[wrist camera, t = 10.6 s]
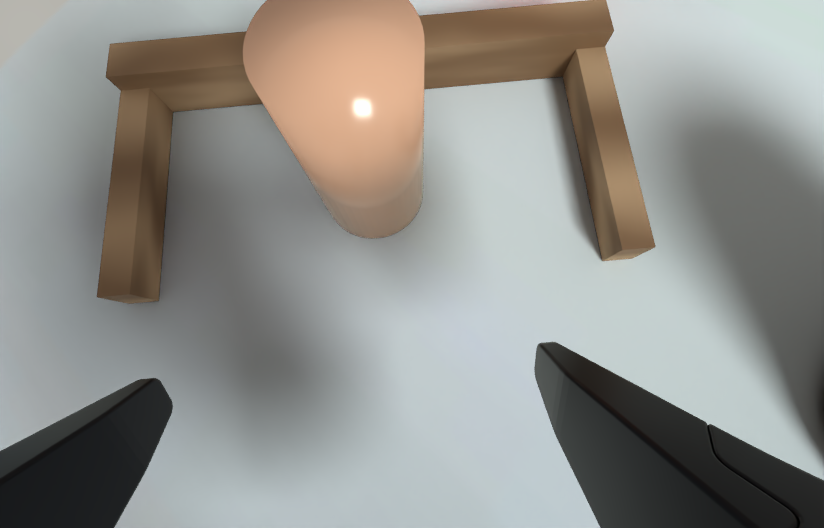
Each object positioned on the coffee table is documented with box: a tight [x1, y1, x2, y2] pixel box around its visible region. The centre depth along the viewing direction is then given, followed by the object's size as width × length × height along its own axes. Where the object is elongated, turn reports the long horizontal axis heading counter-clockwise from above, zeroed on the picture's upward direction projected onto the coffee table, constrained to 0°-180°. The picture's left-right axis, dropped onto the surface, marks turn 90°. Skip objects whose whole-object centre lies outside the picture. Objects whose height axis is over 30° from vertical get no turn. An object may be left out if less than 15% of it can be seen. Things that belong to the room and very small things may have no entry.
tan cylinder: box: [243, 0, 425, 238], centre depth 16 cm, size 5×5×10 cm
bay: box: [97, 0, 655, 304], centre depth 20 cm, size 13×26×3 cm, turn 95°
